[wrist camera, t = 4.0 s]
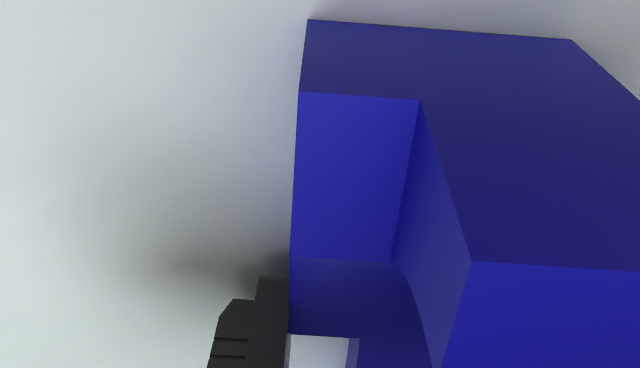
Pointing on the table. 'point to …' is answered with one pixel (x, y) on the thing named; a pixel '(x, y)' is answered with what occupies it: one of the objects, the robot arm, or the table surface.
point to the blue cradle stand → (464, 201)
